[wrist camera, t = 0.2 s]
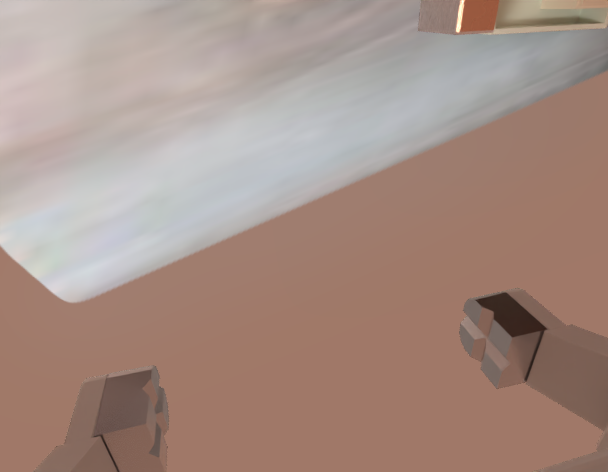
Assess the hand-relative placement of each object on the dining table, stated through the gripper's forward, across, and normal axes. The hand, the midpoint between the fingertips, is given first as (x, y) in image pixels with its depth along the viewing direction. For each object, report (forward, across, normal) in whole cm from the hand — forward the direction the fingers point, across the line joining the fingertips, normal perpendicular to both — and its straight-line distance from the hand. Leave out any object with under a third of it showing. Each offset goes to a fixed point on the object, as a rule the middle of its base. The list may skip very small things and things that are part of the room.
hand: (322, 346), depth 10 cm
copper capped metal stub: (+48, -30, -6) cm, 56 cm away
